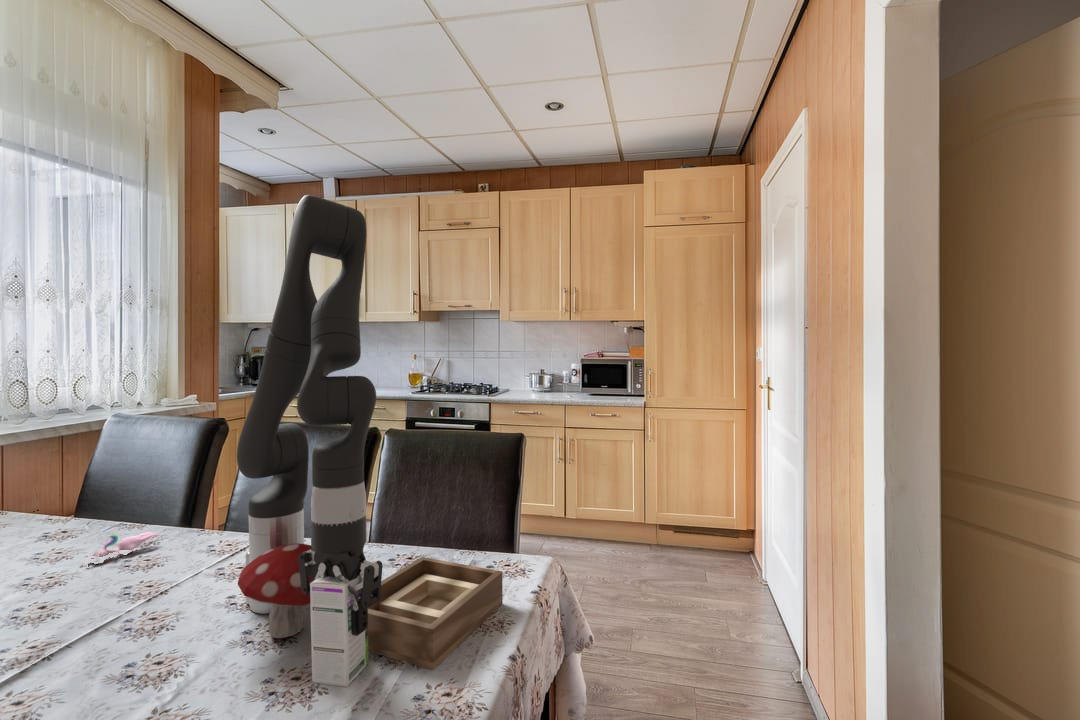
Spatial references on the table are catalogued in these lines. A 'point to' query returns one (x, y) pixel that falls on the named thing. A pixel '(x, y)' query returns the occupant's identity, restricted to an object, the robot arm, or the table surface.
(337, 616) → the syrup box
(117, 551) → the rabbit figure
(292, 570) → the decorative mushroom
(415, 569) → the crate
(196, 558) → the table surface
